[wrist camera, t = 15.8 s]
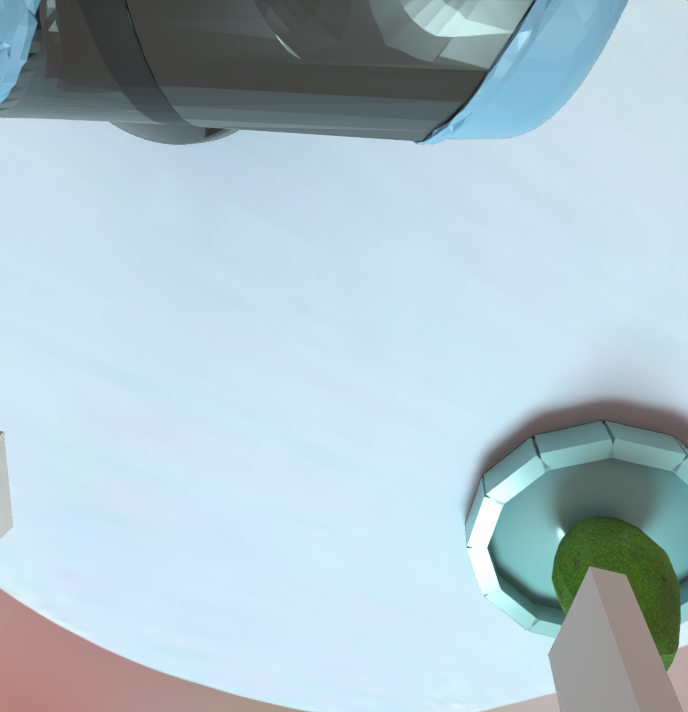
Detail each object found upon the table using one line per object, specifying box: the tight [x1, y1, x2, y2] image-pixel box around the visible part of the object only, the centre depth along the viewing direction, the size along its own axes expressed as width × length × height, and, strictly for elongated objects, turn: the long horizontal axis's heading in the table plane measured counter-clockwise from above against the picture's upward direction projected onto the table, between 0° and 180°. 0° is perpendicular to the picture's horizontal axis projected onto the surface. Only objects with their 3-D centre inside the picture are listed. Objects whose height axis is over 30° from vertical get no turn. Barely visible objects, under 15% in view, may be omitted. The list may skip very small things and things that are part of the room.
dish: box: [465, 421, 688, 638], centre depth 44 cm, size 19×19×2 cm
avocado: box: [551, 516, 681, 671], centre depth 39 cm, size 8×8×12 cm
